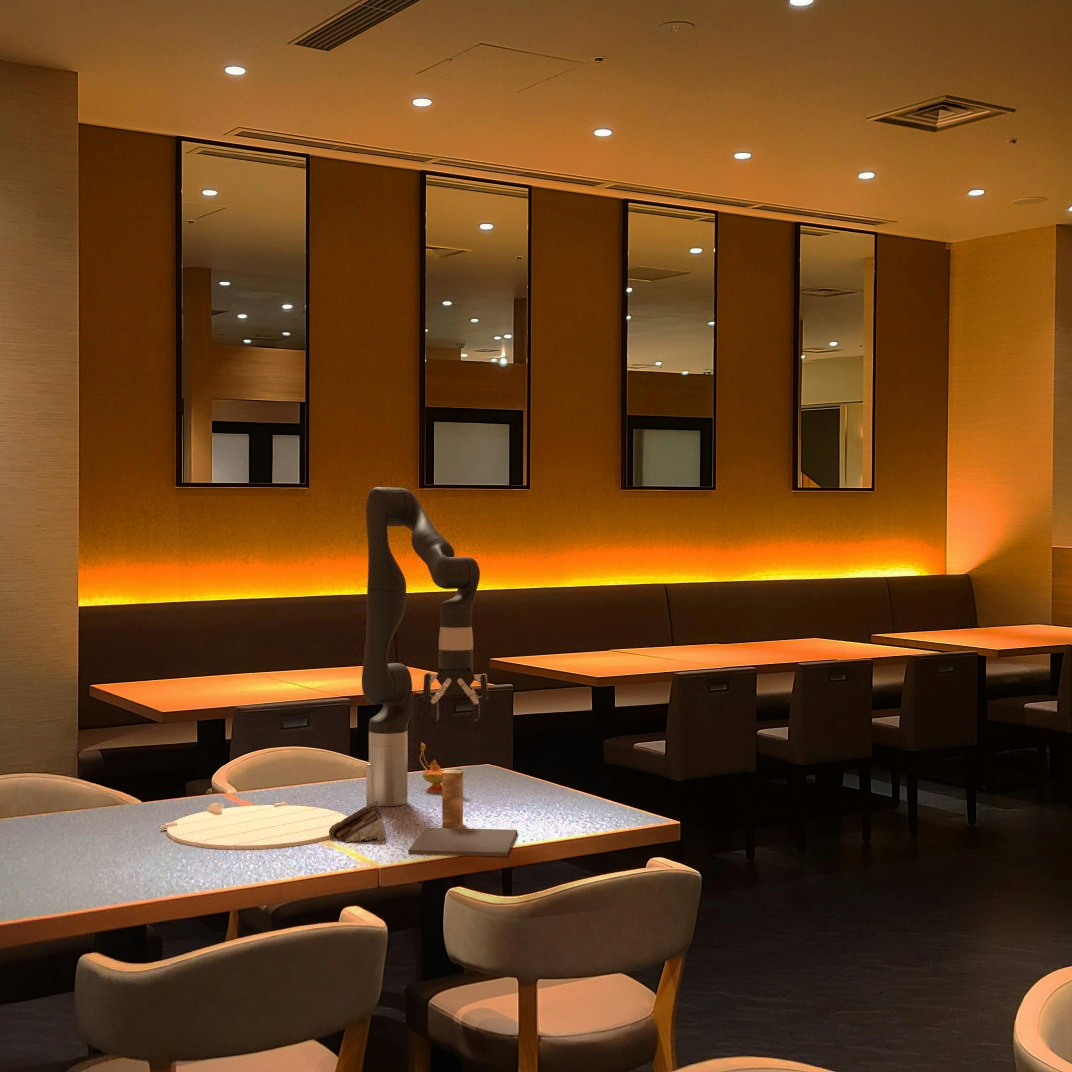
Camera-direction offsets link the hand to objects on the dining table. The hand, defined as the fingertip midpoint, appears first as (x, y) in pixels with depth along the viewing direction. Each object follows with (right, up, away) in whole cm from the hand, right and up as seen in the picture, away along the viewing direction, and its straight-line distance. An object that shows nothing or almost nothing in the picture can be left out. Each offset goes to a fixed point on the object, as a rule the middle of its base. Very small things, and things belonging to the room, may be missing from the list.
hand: (455, 720), depth 289 cm
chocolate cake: (-19, -24, -13) cm, 33 cm away
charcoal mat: (+3, -23, -17) cm, 29 cm away
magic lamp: (-6, -23, +38) cm, 45 cm away
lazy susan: (-43, -24, -3) cm, 49 cm away
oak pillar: (-1, -23, 0) cm, 23 cm away
